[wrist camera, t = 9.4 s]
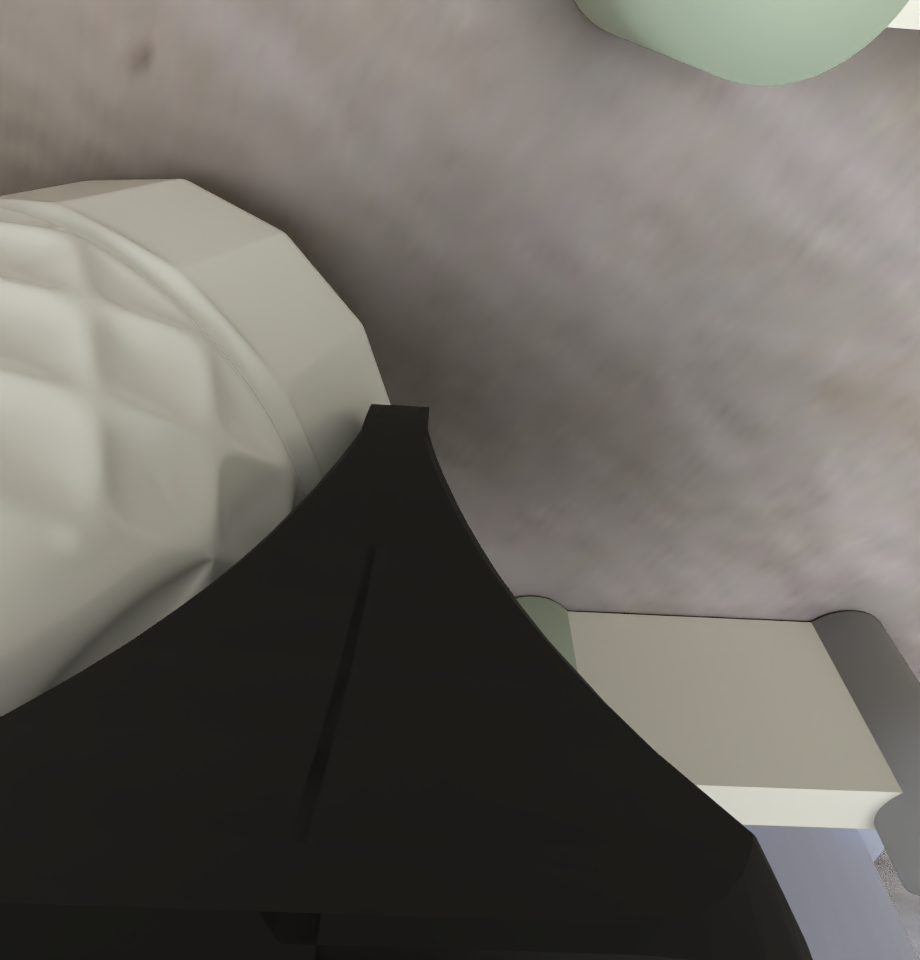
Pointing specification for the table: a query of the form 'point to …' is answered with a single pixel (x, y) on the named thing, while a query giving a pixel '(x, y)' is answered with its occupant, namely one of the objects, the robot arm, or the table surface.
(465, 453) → the table surface
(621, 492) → the table surface
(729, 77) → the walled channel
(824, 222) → the table surface
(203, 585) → the white cup
